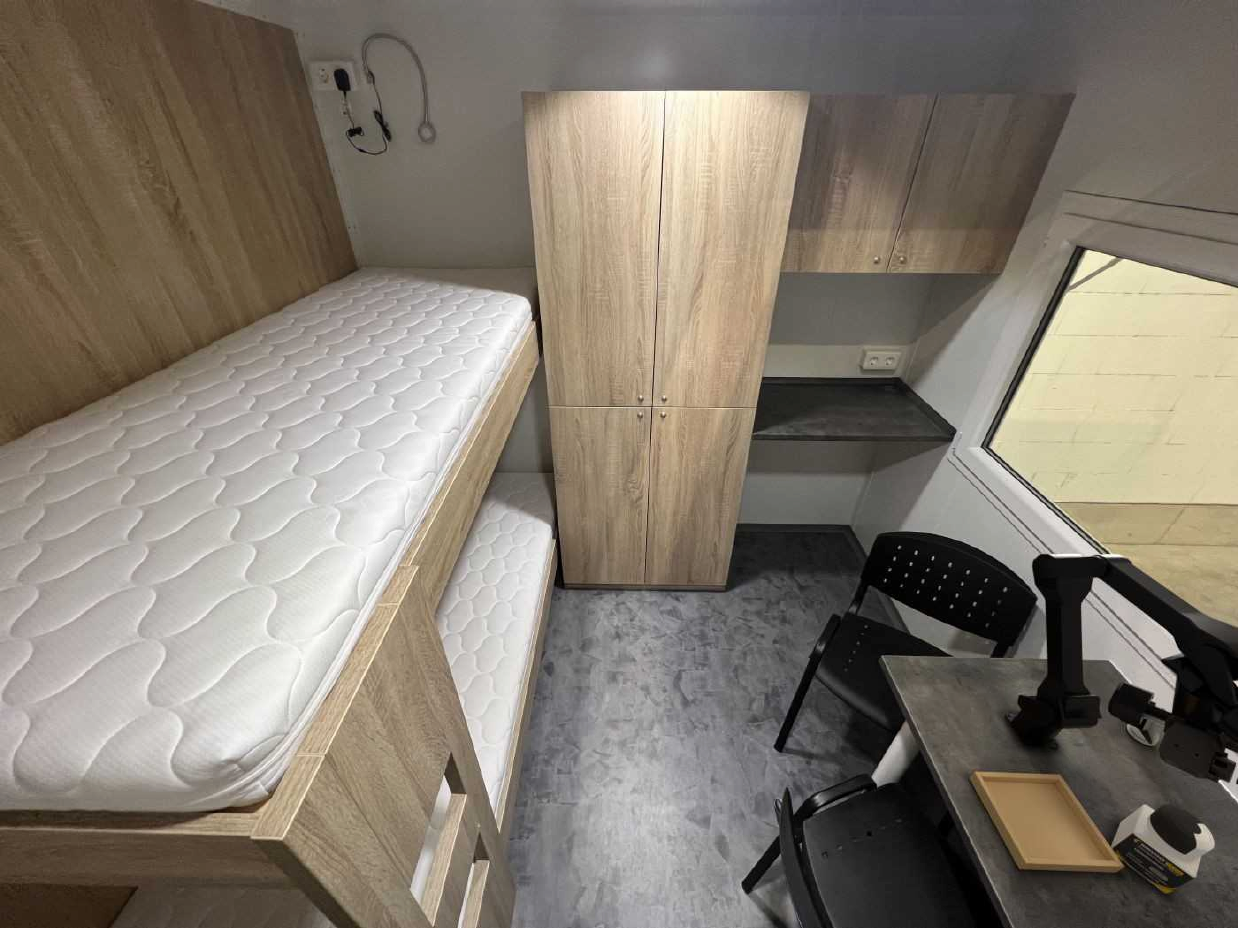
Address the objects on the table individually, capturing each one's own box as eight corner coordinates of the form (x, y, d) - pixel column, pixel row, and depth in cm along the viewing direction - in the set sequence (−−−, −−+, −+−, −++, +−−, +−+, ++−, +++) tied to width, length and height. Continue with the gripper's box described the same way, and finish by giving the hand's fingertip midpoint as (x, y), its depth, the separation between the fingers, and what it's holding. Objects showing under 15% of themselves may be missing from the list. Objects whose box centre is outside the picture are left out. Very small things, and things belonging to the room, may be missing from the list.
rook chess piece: (1142, 725, 98) (1167, 702, 94) (1161, 748, 95) (1188, 725, 90) (1119, 723, 99) (1143, 700, 94) (1137, 745, 95) (1162, 722, 91)
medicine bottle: (1108, 850, 80) (1152, 818, 74) (1119, 821, 84) (1163, 788, 77) (1166, 895, 75) (1219, 864, 69) (1176, 862, 79) (1227, 830, 72)
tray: (1019, 869, 78) (1026, 862, 76) (969, 777, 89) (974, 771, 88) (1116, 872, 78) (1124, 866, 76) (1053, 780, 89) (1060, 774, 88)
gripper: (1095, 705, 75) (1093, 759, 82) (1297, 795, 60) (1275, 853, 66) (1122, 655, 79) (1119, 711, 86) (1319, 728, 64) (1296, 789, 70)
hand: (1192, 761), depth 77 cm, fingers open, 9 cm apart
